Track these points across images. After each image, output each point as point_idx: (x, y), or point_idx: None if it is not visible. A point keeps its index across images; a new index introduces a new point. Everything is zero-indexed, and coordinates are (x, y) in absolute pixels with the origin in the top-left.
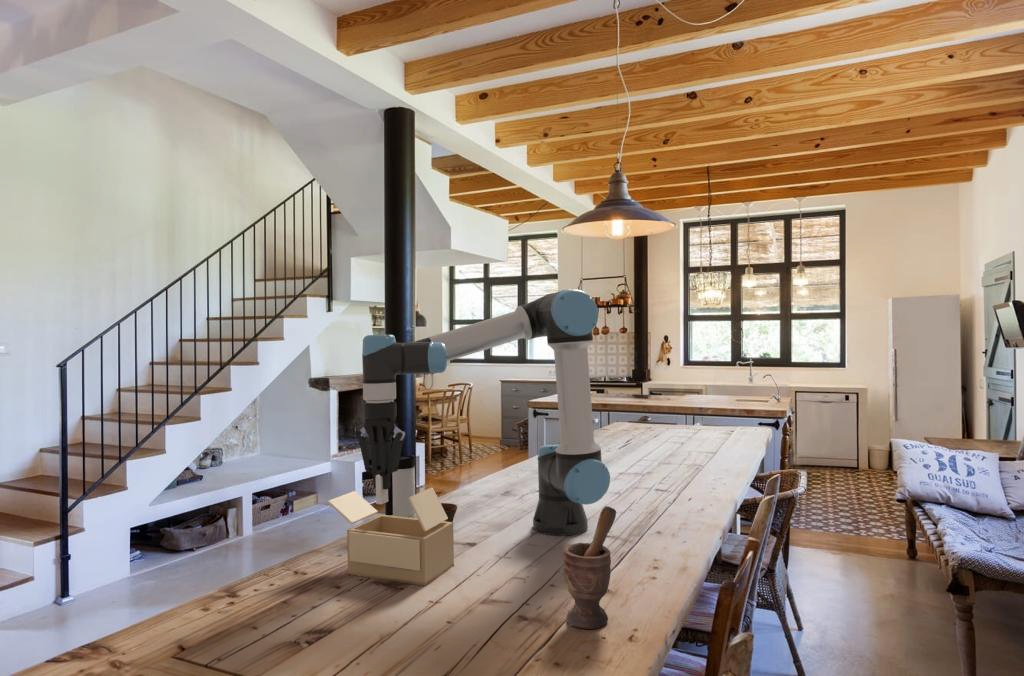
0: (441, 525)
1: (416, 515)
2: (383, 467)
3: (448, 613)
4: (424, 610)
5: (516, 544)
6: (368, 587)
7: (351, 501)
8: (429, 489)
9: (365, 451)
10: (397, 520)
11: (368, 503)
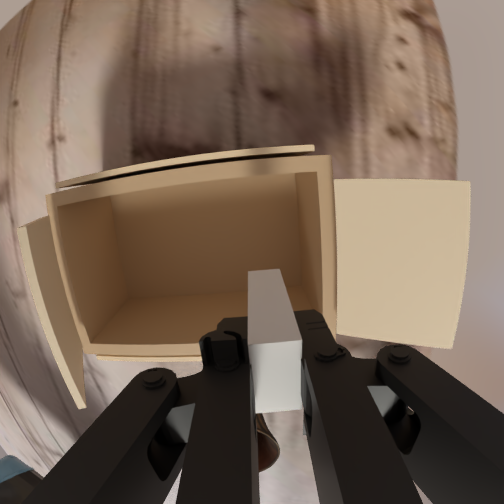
0: (109, 339)
1: (40, 220)
2: (217, 397)
3: (24, 122)
4: (54, 106)
5: None
6: (204, 121)
7: (423, 283)
8: (67, 384)
9: (496, 465)
10: None
11: (381, 338)
